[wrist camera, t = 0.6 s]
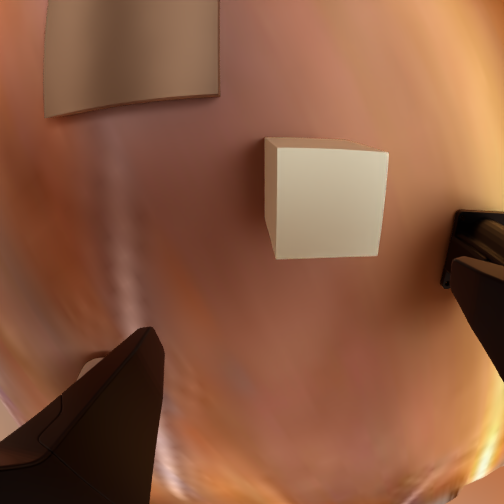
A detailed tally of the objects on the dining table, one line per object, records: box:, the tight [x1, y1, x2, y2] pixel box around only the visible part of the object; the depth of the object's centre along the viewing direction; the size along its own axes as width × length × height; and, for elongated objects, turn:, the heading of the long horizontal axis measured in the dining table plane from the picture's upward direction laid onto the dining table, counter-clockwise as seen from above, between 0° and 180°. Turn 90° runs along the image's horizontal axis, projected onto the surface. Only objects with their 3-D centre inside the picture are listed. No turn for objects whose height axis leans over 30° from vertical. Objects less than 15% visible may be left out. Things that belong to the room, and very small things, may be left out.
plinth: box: [43, 0, 220, 118], centre depth 14 cm, size 10×10×3 cm
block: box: [264, 137, 389, 259], centre depth 17 cm, size 5×5×6 cm
